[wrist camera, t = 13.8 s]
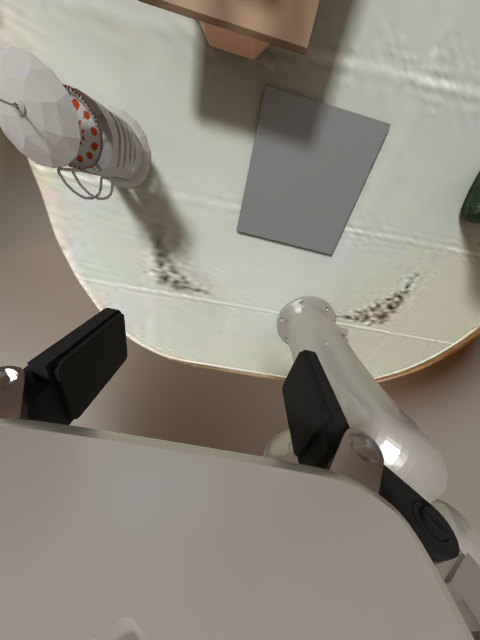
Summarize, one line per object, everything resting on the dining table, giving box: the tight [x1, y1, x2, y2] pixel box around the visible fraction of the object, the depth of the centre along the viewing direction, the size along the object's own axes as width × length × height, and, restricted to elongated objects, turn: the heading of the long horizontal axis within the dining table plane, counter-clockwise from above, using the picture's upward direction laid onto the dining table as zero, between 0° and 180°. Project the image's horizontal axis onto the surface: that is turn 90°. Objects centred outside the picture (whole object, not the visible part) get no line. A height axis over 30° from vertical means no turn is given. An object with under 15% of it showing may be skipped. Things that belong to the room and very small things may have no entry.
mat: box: [237, 85, 391, 255], centre depth 31 cm, size 18×18×1 cm
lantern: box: [0, 47, 151, 200], centre depth 20 cm, size 10×12×25 cm
